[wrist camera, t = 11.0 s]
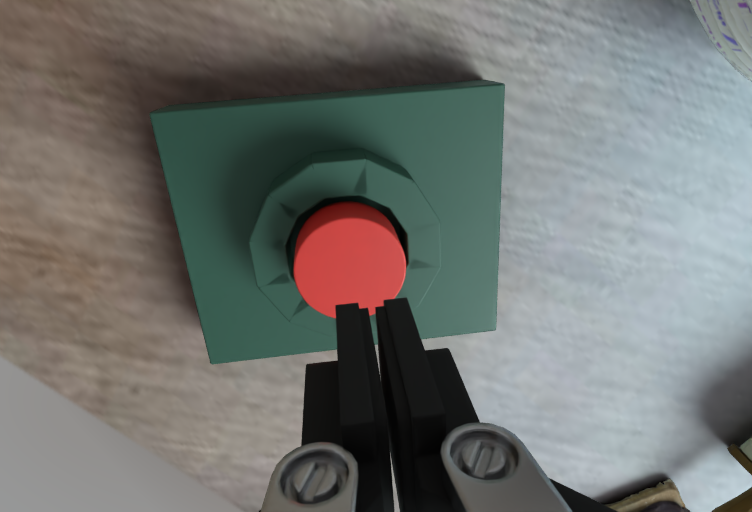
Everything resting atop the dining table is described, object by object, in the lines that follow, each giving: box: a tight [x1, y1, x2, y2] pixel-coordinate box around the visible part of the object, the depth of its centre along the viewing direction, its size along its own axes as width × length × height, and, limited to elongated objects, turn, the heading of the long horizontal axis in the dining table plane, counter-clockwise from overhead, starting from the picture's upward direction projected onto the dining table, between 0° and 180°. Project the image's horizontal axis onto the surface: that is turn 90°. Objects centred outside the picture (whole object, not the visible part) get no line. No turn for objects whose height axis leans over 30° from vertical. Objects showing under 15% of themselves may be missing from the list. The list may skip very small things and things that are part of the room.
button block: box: [149, 80, 505, 364], centre depth 19 cm, size 12×10×4 cm
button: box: [293, 201, 406, 318], centre depth 16 cm, size 4×4×2 cm
